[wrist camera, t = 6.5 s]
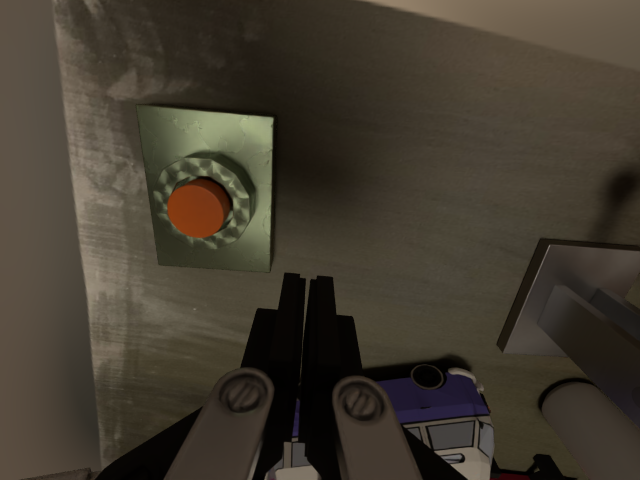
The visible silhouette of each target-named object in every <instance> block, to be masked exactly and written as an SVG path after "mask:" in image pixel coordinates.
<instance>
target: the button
mask: <svg viewBox="0 0 640 480" xmlns="http://www.w3.org/2000/svg"><path fill="white" fill-rule="evenodd" d="M167 211H168V216H169V218H170V220H171V222H172V223H173V225H174V226H175V227H176V228H177V229H178V230H179V231H180V232H182V233H184V234H186V235H188V236H191V237H195V238H204V237H209V236H211V235H213V234H215V233H216V232H217V231H218V230H219V229H220V228H221V226H222V225H223V223H224V222H225V221H226V219H227V218H228V216H229V213H230V202H229V199H228V196H227V194H226V193H225V191H224V190H223V189H222V188H221V187H220V186H219V185H217V184H216V183H214V182H212V181H209V180H206V179H194V180H191V181H189V182H187V183H185V184H184V185H182V186H181V187H179V188H178V189H176V190H175V191H174V192H173V193H172V194H171V195H170V197H169V200H168V203H167Z"/></svg>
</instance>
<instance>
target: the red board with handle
mask: <svg viewBox="0 0 640 480" xmlns="http://www.w3.org/2000/svg"><path fill="white" fill-rule="evenodd" d="M533 459H534V461H535V463H536V464H537V466H538V468H539V469H540V471H538V472H535V473H533V474H530V475H528V476H526V475H517V474H507V473H501V472H500V470H499V467H498V465H497V463H496V461H495V459H494V457H493V458H492V464H491V470H490V480H565V478H564V477H563V475H562V473H561V472H560V470H559V469H558V467H557V466H556V464H555V463H554V461H553V460H552V458H551V457H550V456H546V455H536V456H535V457H534V458H533Z"/></svg>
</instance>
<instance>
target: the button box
mask: <svg viewBox="0 0 640 480" xmlns="http://www.w3.org/2000/svg"><path fill="white" fill-rule="evenodd" d="M136 112H137V119H138V126H139V133H140V139H141V146H142V153H143V160H144V167H145V174H146V181H147V188H148V195H149V202H150V209H151V216H152V223H153V230H154V237H155V244H156V251H157V258H158V264H159V265H163V266H178V267H192V268H207V269H222V270H236V271H251V272H266V273H270V271H271V267H272V263H273V254H274V219H275V184H276V149H277V115H269V114H258V113H248V112H237V111H226V110H215V109H204V108H193V107H183V106H172V105H161V104H136ZM194 179H206V180H209V181H212V182H214V183H216V184H217V185H219V186H220V187H221V188H222V189H223V190H224V191H225V193H226V194H227V196H228V199H229V202H230V213H229V216H228V218H227V219H226V221H225V222H224V223H223V225H222V226H221V228H220V229H219V230H218V231H217V232H216V233H215V234H213V235H211V236H209V237H204V238H195V237H191V236H188V235H186V234H184V233H182V232H180V231H179V230H178V229H177V228H176V227H175V226H174V225H173V223H172V222H171V220H170V218H169V216H168V211H167V203H168V200H169V197H170V195H171V194H172V193H173V192H174V191H175V190H176V189H178V188H179V187H181V186H182V185H184V184H185V183H187V182H189V181H191V180H194Z"/></svg>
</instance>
